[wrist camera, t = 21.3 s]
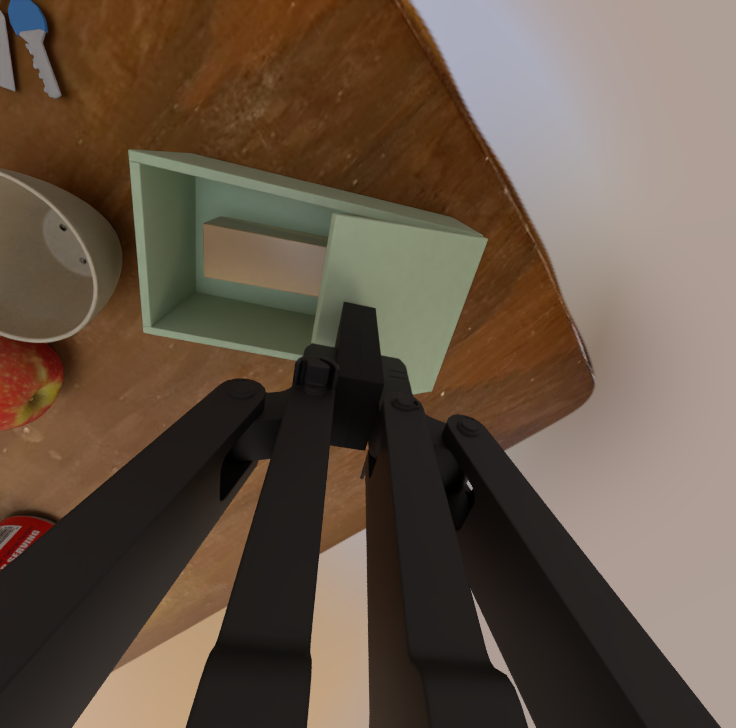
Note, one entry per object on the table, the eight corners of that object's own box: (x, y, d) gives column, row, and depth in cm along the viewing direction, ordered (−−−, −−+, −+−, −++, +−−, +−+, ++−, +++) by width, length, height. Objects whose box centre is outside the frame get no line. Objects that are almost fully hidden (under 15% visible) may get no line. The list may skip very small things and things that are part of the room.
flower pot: (184, 272, 28) (133, 303, 22) (86, 323, 30) (13, 365, 24) (85, 133, 23) (-16, 122, 17) (-24, 204, 25) (-149, 217, 19)
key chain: (24, -195, 17) (9, -211, 16) (159, 6, 20) (151, 1, 20) (-128, 14, 20) (-146, 9, 20) (9, 156, 24) (-2, 156, 23)
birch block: (401, 297, 29) (406, 313, 26) (220, 264, 27) (203, 277, 24) (412, 252, 27) (418, 264, 24) (220, 215, 26) (201, 222, 22)
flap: (483, 236, 19) (488, 239, 19) (428, 388, 24) (432, 391, 24) (332, 212, 15) (336, 214, 14) (300, 407, 19) (302, 412, 19)
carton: (452, 217, 26) (483, 235, 20) (414, 338, 31) (429, 385, 25) (190, 152, 24) (127, 149, 18) (192, 294, 29) (143, 333, 22)
